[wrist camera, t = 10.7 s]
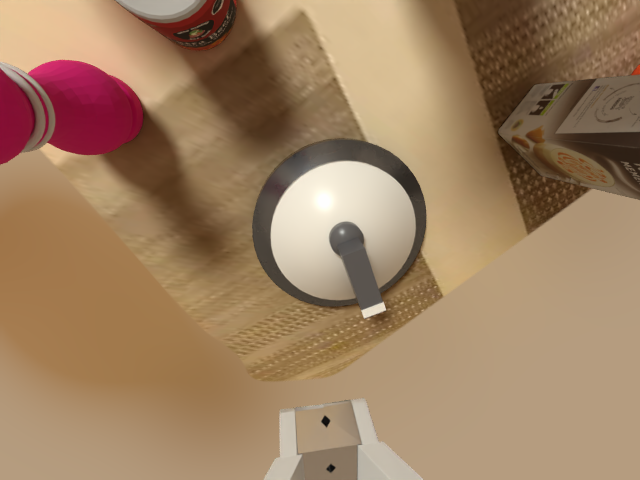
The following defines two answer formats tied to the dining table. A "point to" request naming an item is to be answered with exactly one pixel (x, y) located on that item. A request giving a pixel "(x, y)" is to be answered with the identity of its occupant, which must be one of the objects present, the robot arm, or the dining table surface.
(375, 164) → the dial housing
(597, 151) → the coffee box
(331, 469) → the robot arm
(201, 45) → the canned food
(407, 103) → the dining table surface
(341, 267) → the dial
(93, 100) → the pepper mill
